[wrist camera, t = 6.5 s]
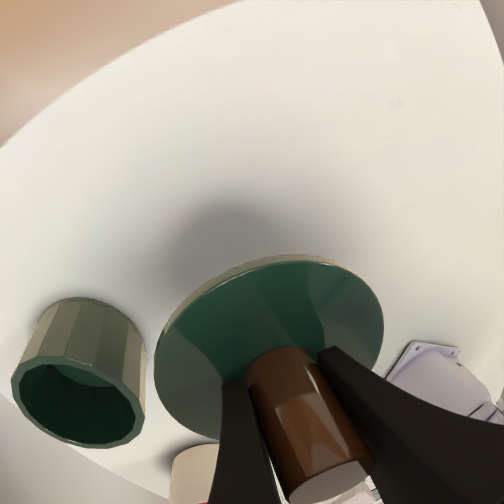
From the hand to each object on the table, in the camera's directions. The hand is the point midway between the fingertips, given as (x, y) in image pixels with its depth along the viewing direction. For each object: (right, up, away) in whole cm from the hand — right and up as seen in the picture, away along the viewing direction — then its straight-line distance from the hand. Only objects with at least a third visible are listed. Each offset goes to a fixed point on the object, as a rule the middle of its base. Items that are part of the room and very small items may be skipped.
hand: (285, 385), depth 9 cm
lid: (0, 0, +1) cm, 1 cm away
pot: (-11, -2, +8) cm, 14 cm away
